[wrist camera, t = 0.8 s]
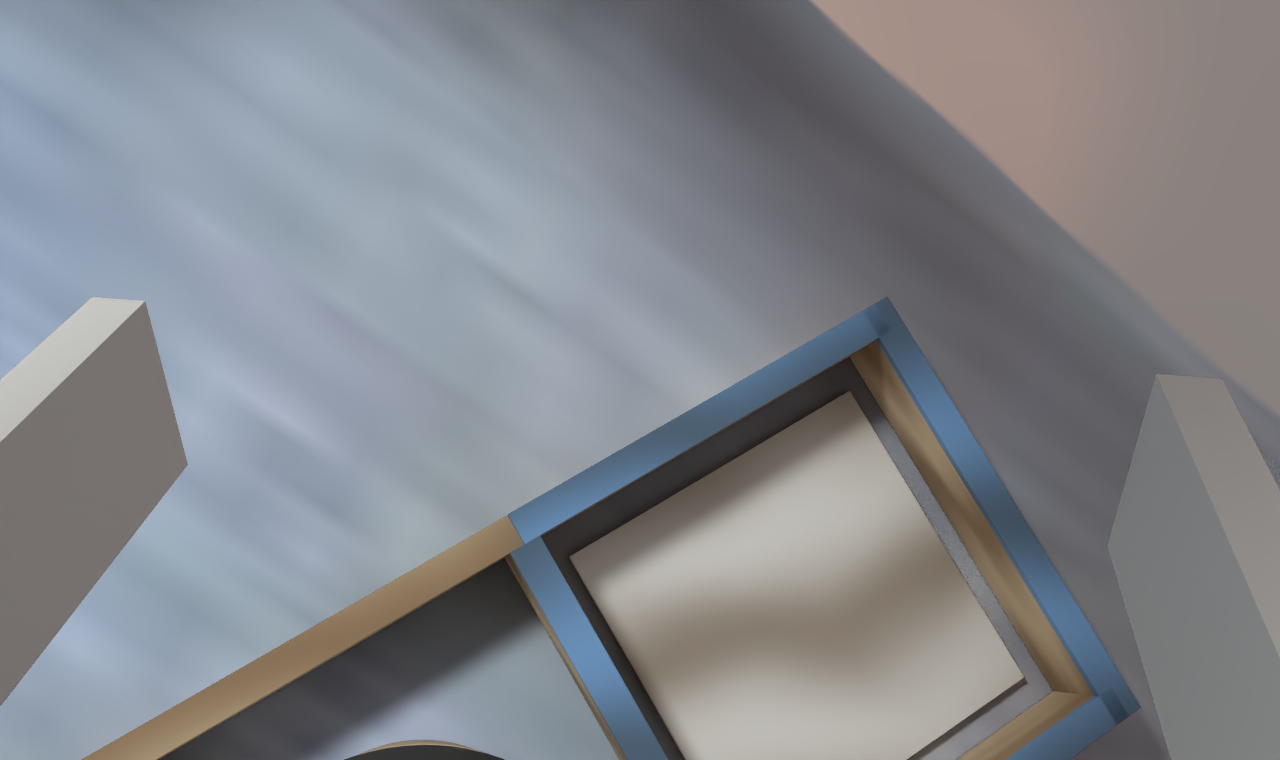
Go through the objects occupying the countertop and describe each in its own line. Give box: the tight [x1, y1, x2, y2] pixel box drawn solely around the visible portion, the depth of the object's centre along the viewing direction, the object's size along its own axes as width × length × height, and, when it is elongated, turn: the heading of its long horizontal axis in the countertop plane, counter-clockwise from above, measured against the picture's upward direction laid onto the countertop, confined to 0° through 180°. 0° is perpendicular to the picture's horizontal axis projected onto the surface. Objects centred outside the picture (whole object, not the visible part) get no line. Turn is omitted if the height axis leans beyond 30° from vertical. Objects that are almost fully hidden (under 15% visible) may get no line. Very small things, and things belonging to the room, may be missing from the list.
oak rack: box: [82, 297, 1141, 760], centre depth 35 cm, size 15×28×3 cm, turn 121°
